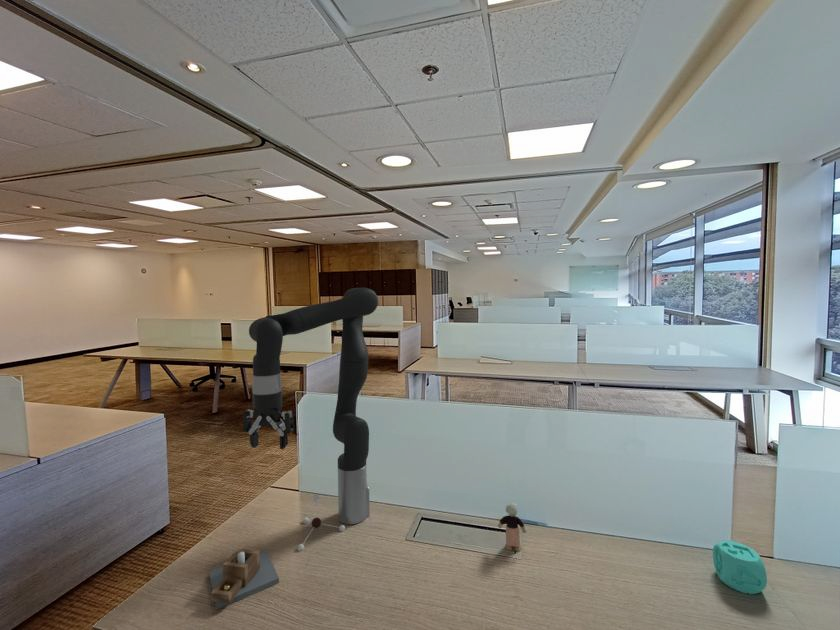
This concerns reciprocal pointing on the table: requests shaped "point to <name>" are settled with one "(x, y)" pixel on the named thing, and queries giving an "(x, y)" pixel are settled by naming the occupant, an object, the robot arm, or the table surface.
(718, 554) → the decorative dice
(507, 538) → the grandmother figurine
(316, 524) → the molecular model
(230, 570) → the brown hollow open box
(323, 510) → the table surface
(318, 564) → the table surface
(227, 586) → the brass dowel
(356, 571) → the table surface
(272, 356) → the robot arm
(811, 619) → the table surface
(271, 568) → the slate board
